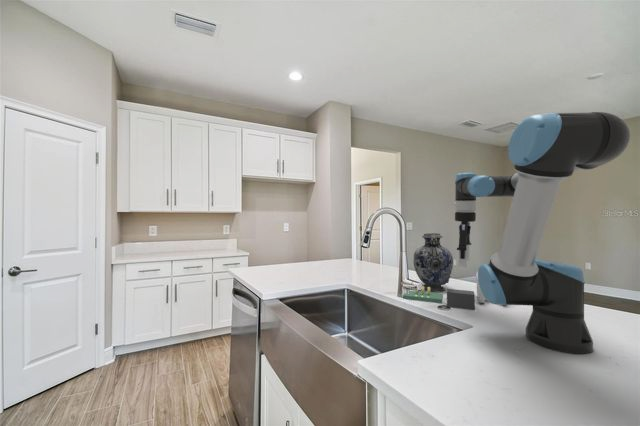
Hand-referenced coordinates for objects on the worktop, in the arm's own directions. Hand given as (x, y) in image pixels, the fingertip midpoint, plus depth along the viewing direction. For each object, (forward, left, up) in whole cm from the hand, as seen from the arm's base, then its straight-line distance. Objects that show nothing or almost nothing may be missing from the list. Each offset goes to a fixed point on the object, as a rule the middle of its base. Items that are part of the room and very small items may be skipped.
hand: (464, 263), depth 117 cm
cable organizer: (+13, -11, -18) cm, 24 cm away
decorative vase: (+25, +13, -18) cm, 33 cm away
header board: (+6, +16, -17) cm, 25 cm away
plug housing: (0, +1, -18) cm, 18 cm away
